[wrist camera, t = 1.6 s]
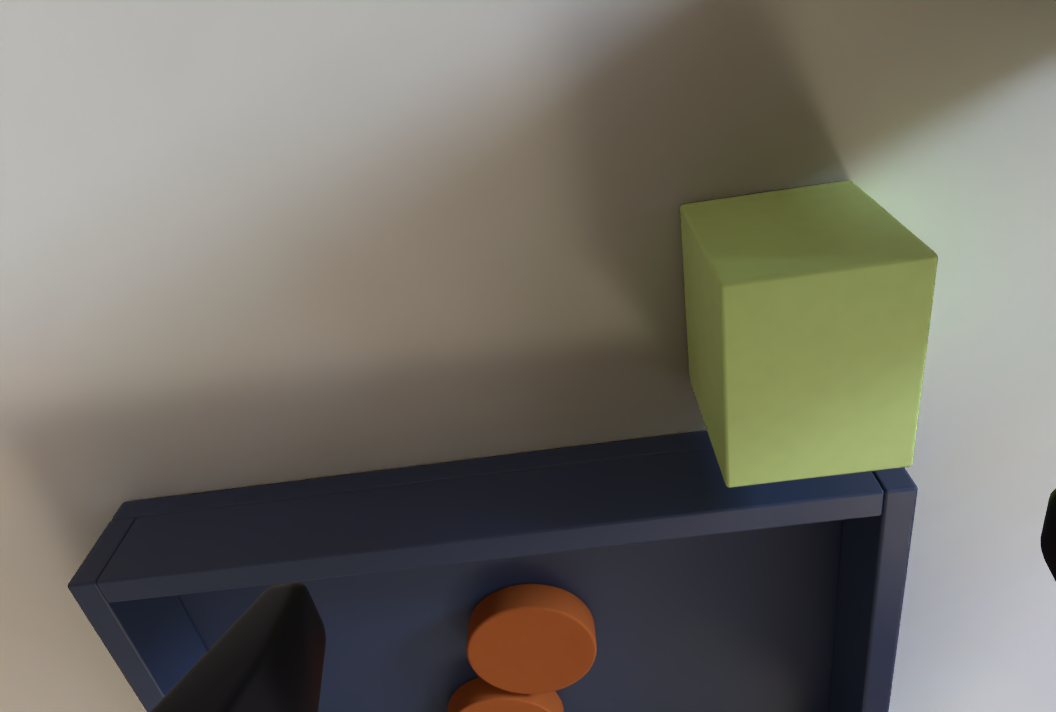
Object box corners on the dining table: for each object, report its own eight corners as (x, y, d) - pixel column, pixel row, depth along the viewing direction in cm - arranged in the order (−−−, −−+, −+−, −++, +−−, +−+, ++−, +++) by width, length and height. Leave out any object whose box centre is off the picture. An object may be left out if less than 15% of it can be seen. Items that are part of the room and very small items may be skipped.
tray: (866, 409, 21) (919, 487, 18) (838, 748, 29) (872, 840, 26) (122, 501, 23) (65, 585, 20) (284, 799, 31) (259, 890, 28)
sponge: (851, 178, 18) (940, 254, 14) (840, 360, 21) (913, 467, 17) (679, 203, 18) (720, 284, 14) (689, 380, 21) (726, 489, 17)
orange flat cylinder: (586, 575, 23) (589, 601, 23) (600, 661, 25) (603, 688, 25) (457, 589, 24) (454, 615, 23) (480, 674, 26) (479, 701, 25)
